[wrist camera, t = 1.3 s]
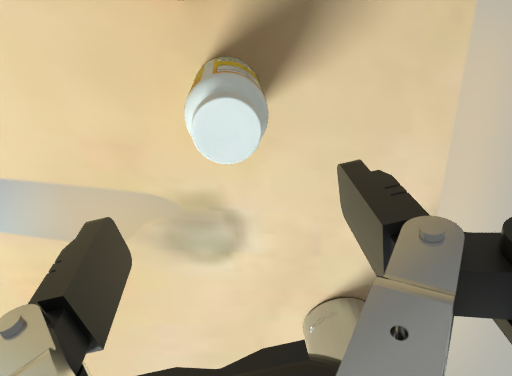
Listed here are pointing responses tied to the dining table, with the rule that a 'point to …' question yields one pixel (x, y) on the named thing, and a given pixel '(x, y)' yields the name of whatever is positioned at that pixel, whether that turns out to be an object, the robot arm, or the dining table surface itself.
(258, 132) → the supplement bottle
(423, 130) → the dining table surface
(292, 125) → the dining table surface
